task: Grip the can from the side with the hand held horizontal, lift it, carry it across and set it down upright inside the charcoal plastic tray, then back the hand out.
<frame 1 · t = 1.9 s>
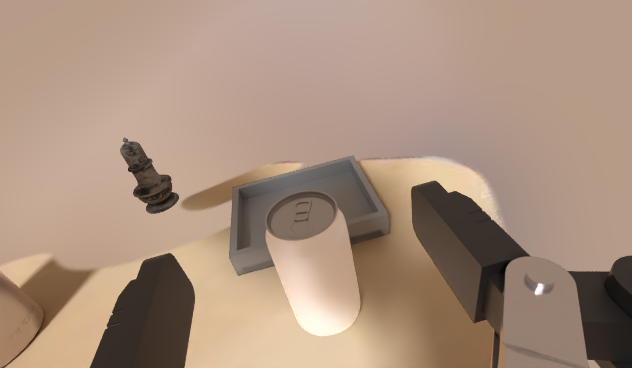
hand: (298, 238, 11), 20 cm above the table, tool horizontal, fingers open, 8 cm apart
salt shaker: (163, 203, 52), on the table
can: (328, 307, 31), on the table
tray: (305, 216, 43), on the table
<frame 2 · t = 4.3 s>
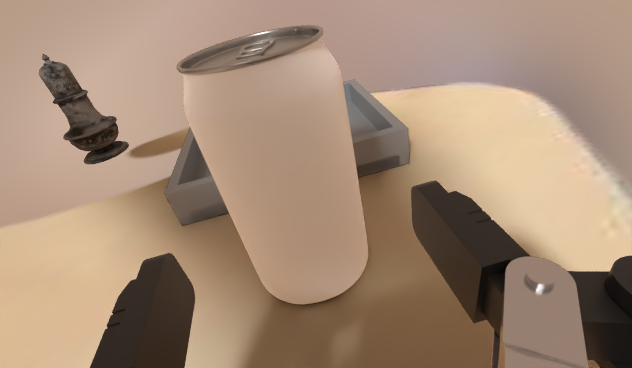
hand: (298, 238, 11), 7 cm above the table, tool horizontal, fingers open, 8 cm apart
salt shaker: (107, 154, 40), on the table
can: (314, 262, 19), on the table
tray: (287, 153, 30), on the table
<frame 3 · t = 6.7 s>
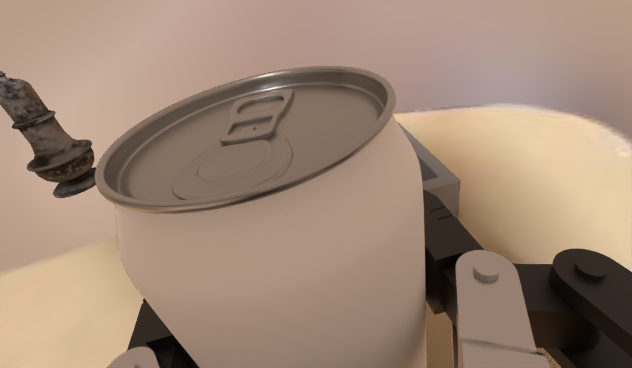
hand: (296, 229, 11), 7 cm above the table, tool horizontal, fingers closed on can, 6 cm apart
salt shaker: (82, 184, 34), on the table
tray: (295, 195, 25), on the table
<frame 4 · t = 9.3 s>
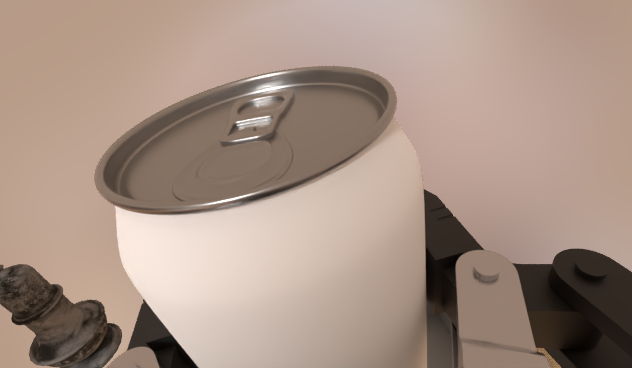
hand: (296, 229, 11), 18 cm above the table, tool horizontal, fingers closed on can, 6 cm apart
salt shaker: (93, 351, 30), on the table
when the fingers open (9 cm above the table, at t = 12.0 s): can drops 1 cm, resting on tray.
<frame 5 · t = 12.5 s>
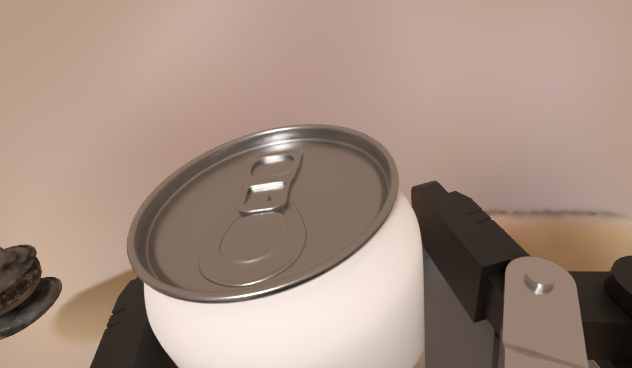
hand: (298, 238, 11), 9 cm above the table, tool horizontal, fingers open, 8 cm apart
salt shaker: (25, 308, 24), on the table
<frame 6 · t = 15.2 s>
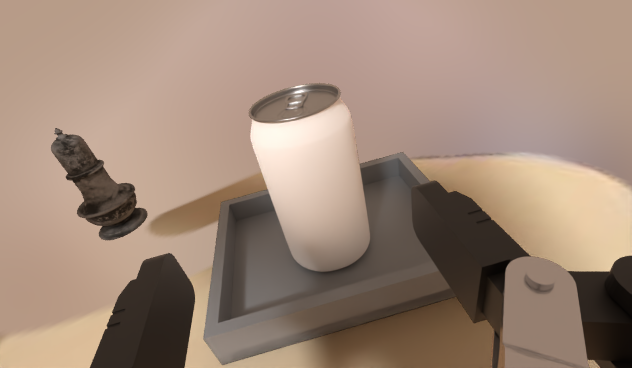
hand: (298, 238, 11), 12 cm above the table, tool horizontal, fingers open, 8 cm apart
salt shaker: (124, 224, 37), on the table
can: (330, 244, 26), point 1 cm above the table, touching tray
tray: (334, 249, 26), on the table
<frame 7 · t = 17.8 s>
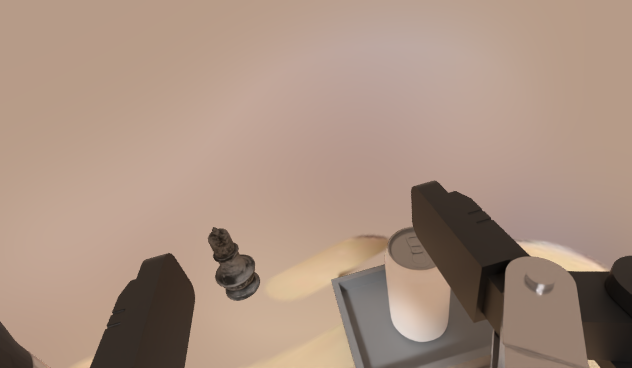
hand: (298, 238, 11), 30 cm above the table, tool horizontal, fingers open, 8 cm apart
salt shaker: (243, 286, 49), on the table
can: (418, 318, 38), point 1 cm above the table, touching tray
tray: (419, 320, 39), on the table
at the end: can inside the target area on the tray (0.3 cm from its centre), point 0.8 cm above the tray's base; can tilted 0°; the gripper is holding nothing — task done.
